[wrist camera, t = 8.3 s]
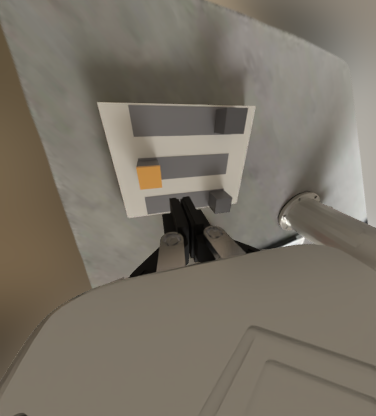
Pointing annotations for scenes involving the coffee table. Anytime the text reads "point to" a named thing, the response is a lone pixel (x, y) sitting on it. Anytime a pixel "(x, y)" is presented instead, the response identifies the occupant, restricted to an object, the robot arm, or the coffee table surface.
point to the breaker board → (178, 152)
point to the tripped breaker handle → (149, 174)
